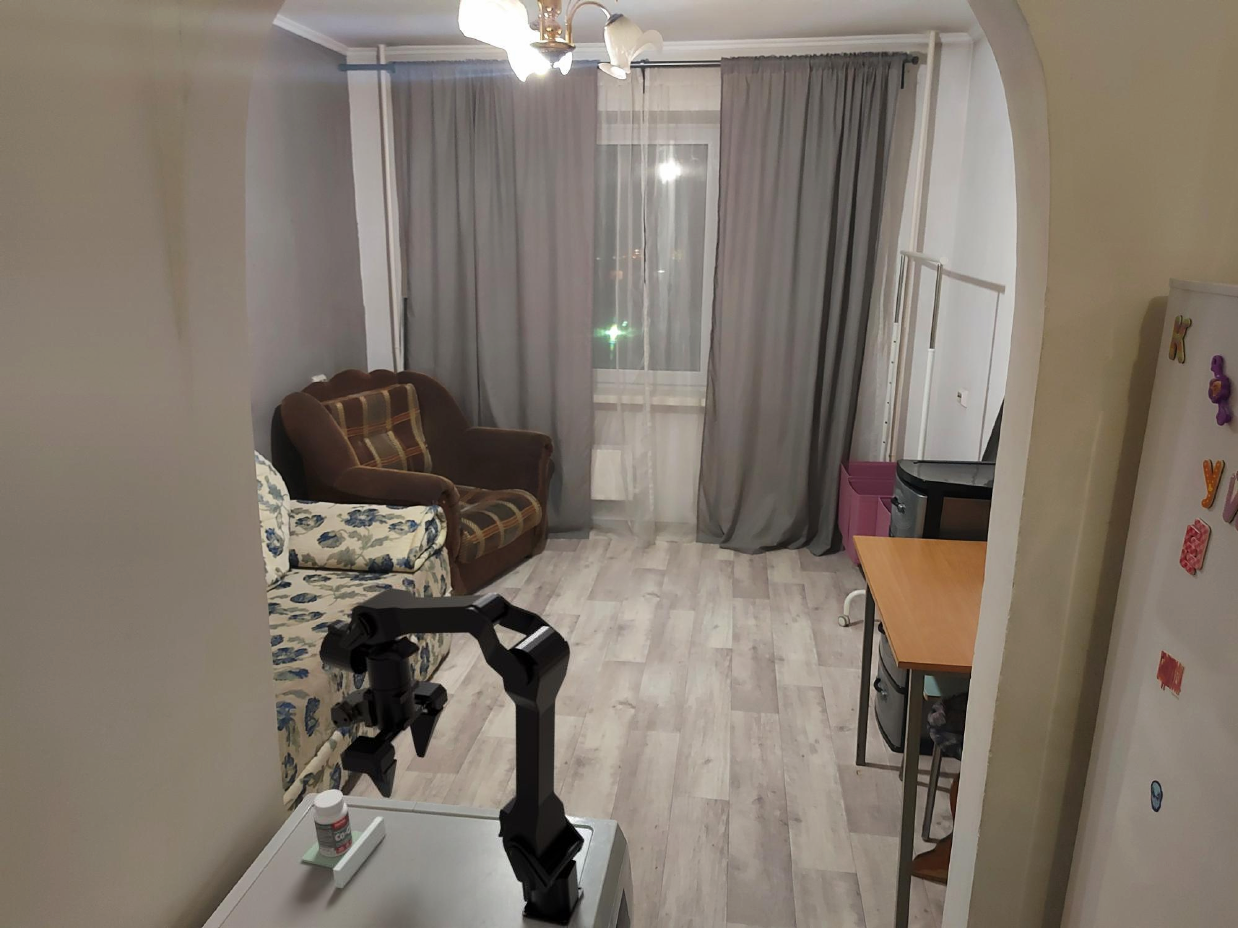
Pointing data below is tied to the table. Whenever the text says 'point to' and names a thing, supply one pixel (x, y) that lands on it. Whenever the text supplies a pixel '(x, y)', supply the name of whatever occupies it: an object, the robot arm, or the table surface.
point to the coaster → (319, 859)
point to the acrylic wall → (359, 852)
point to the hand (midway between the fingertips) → (404, 775)
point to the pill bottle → (332, 823)
